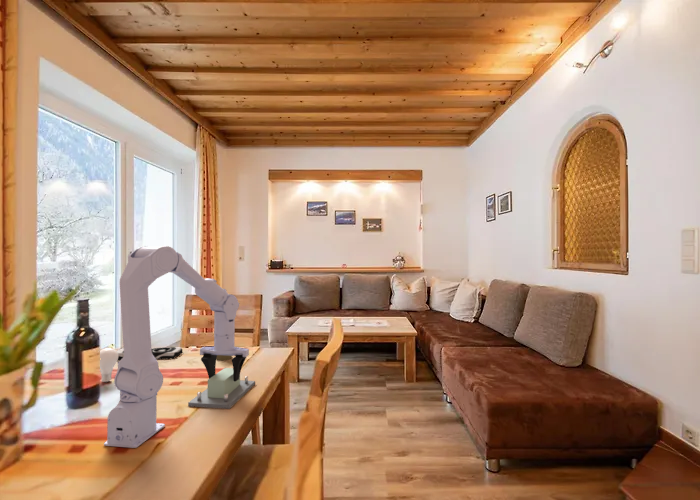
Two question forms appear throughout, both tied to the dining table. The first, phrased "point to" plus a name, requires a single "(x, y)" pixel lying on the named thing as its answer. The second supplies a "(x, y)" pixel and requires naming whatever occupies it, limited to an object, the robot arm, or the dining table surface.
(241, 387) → the pin holder
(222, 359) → the olive pepper mill
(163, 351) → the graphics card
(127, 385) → the robot arm
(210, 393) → the sage green block
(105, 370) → the lightbulb
